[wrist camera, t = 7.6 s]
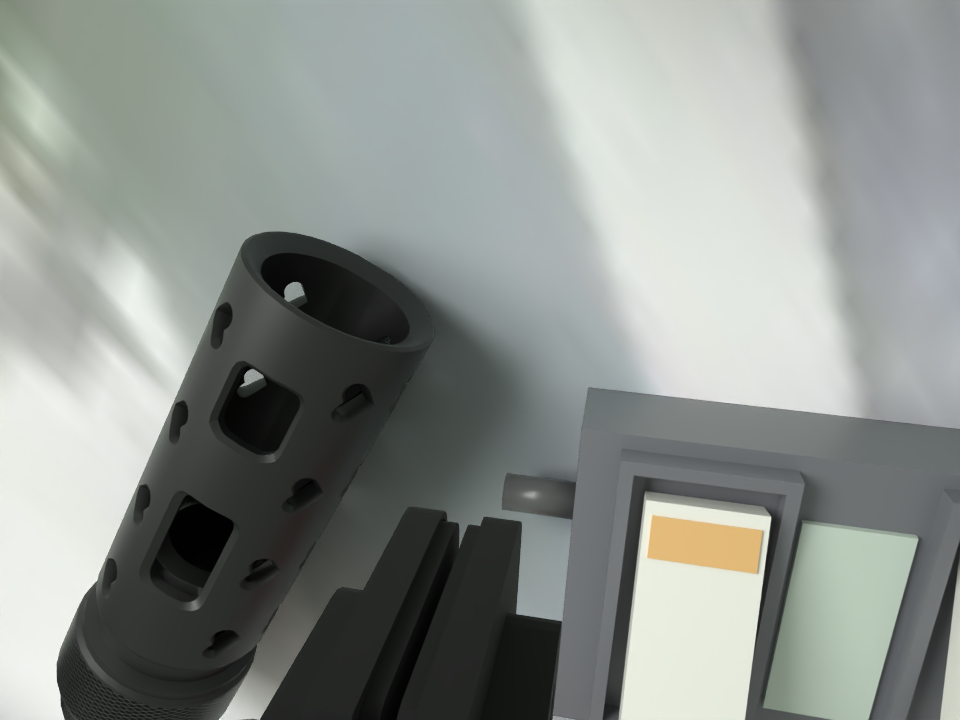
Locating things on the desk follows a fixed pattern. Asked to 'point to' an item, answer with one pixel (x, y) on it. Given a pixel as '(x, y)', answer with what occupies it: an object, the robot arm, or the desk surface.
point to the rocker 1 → (694, 609)
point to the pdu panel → (770, 549)
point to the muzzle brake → (241, 479)
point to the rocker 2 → (953, 663)
